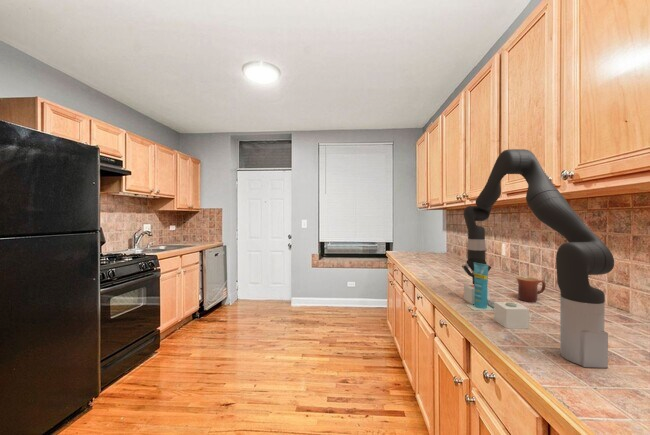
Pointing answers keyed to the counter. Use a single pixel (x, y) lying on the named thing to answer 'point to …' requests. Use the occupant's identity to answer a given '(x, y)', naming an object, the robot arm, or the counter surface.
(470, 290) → the grey block
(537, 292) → the mug
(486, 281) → the tube
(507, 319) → the block with green button
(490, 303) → the rail
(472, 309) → the pad
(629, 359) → the counter surface
